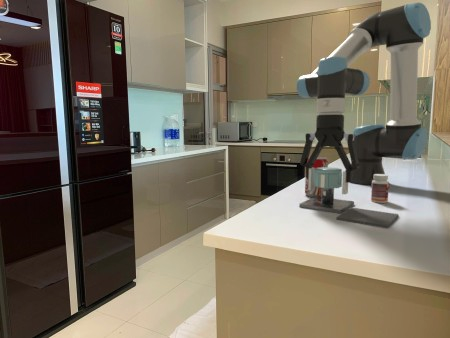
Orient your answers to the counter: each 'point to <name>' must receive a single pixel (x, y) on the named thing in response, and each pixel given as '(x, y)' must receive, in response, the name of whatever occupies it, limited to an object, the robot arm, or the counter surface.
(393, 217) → the mat
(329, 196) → the post
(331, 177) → the cap
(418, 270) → the counter surface
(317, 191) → the soda can
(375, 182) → the pill bottle
